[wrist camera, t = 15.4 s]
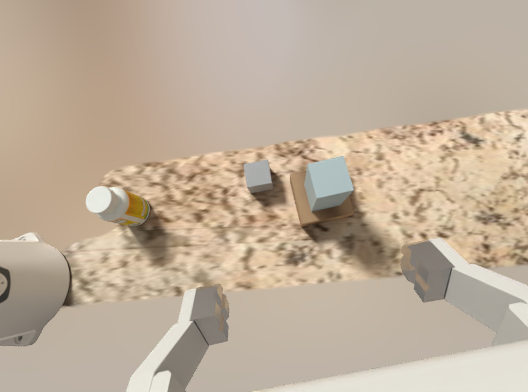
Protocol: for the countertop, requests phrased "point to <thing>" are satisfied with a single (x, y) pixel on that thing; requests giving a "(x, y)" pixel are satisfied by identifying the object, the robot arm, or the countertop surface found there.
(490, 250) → the countertop surface
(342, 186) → the pillar
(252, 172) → the block
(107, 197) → the supplement bottle
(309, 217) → the plinth
